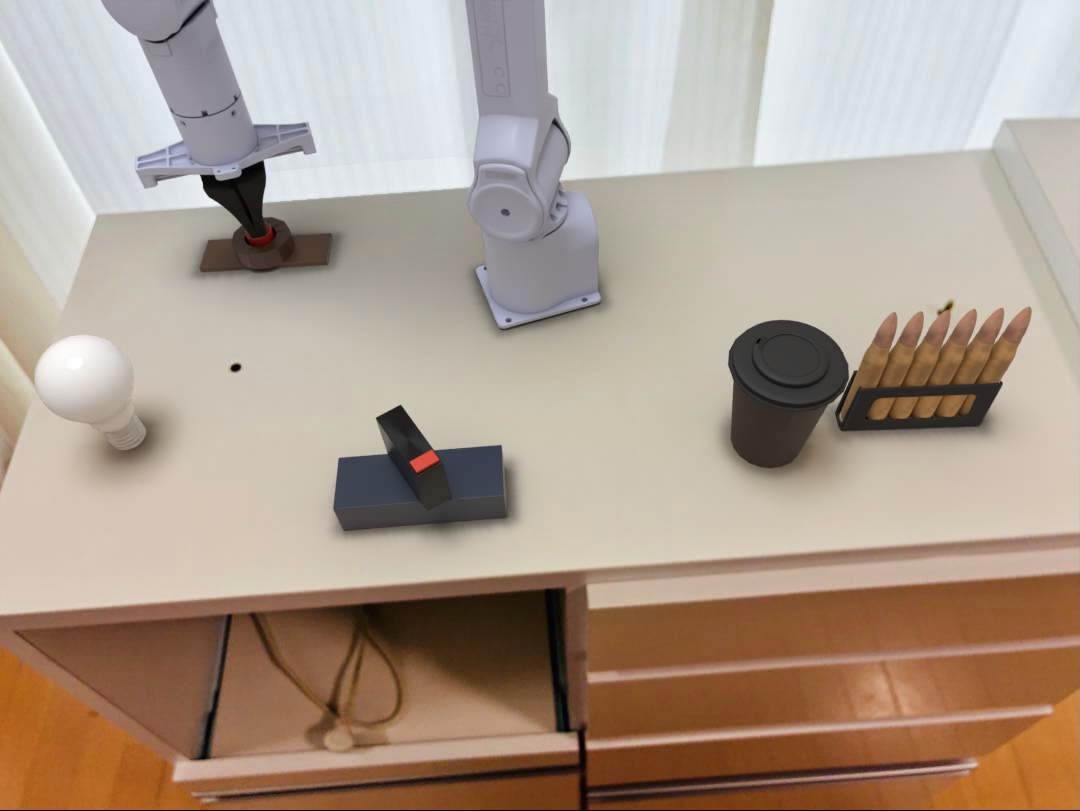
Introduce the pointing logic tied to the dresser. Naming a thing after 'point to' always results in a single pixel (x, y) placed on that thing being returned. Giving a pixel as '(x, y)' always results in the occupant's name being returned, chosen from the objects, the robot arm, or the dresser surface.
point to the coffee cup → (781, 388)
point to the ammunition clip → (930, 373)
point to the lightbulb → (91, 387)
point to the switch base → (387, 500)
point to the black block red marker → (414, 457)
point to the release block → (267, 250)
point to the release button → (261, 237)
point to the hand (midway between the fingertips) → (257, 230)
